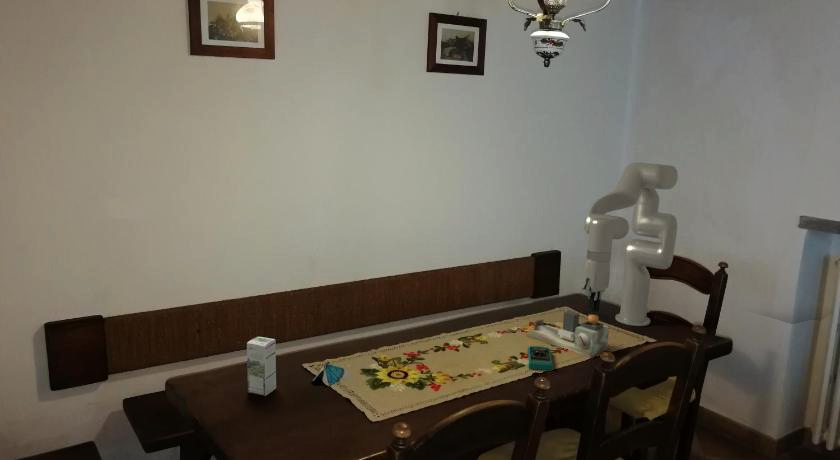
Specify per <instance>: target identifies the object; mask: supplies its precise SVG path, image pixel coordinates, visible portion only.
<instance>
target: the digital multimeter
mask: <svg viewBox="0 0 840 460" xmlns="http://www.w3.org/2000/svg"><path fill="white" fill-rule="evenodd" d="M551 352H552V350H551V348H549V347H547V346H542V345H541V346H540V345H539V346H537V345H536V346H535V345H531V346H528V347H527V357H528V369H529V370H534V369H538V370H537V371H543V370H547V371H546V372H553V371H554V364H553V363H554V362H553V360H552V353H551Z"/></svg>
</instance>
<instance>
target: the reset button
mask: <svg viewBox="0 0 840 460" xmlns="http://www.w3.org/2000/svg"><path fill="white" fill-rule="evenodd" d="M587 316H588V317H587V319H588V320H587V321H588V322H589V323H593V324H596V323H599V316H598V315H596V314H588V315H587Z"/></svg>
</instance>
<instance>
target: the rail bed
mask: <svg viewBox="0 0 840 460" xmlns="http://www.w3.org/2000/svg"><path fill="white" fill-rule="evenodd" d="M544 320H545V319H543V318H541V319H537V320H534V321H533V323H532V324H533V326H532V329H531V330H529V331H526V337H528V338H531V339H533V340H534V339H535V340H537V341H540V342H543V343H546V344H549V345H551V346H554V347H558V348H561V349H563V348H564V349H563V350H566V349H568V350H567V351H569V350H570V352H572V351H573V352H572V353H575V352H576V353H575V354H578V353H579V354H578V355H581V354H582V355H581V356H584V355H585V356H584V357H588V358H591V357H593V356H596V355H598V354H600V353H602V352H604V351H603V350H605V351H607V350H609V347H610V344H608V341H609V331H610V326H608V325H605V324H604V323H600V322H598V323H596V324H593V323H589V322H588V320H587V321H584V322H582V323H581V325H578V327H576V329H575V337H574V341H570V340H567V339H564V338H561V337H560V335H559V334H558V330H560V329H561V328H557V327H554V326H552V325H548V324H546V325H544V323H545V322H544ZM601 351H602V352H601ZM599 352H600V353H599ZM597 353H598V354H597ZM595 354H596V355H595Z"/></svg>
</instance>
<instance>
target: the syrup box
mask: <svg viewBox="0 0 840 460" xmlns="http://www.w3.org/2000/svg"><path fill="white" fill-rule="evenodd" d="M276 343H277V342H276V339H275V338H268V337H262V336H256V337H253V338H252V339H250V340H249V341H247V342H246V356H247V358H246V363H247V364H246V366H247V368H246V369H247V393H249V394H255V395H259V396H263V397H266V396H267V395H269V394H270V393H272V392H274V390H276V389H277V374H276V373H277V368H276V367H277V365H276V363H277V360H276V353H277V351H276V349H277V347H276V345H277V344H276Z"/></svg>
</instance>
